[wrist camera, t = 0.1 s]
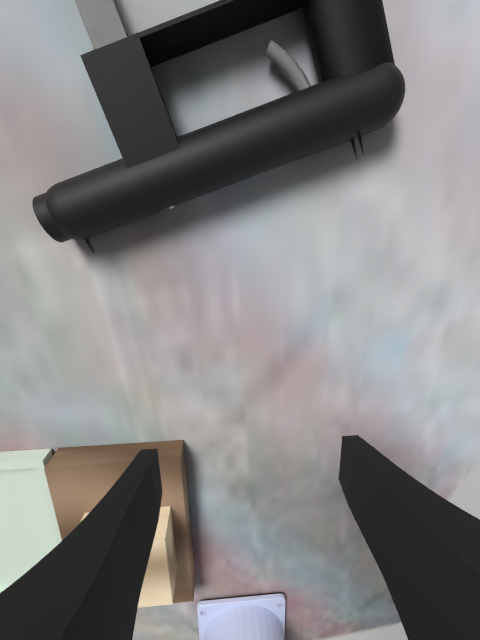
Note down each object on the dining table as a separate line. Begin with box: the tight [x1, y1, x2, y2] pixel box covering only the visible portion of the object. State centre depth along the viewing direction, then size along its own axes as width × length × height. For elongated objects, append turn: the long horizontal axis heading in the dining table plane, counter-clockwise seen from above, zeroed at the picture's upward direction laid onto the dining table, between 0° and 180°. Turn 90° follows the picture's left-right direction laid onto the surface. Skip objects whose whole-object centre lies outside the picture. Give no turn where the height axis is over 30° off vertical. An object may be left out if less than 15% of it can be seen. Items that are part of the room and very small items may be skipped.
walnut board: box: [44, 440, 195, 603], centre depth 24 cm, size 14×9×2 cm, turn 1°
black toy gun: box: [33, 0, 405, 253], centre depth 15 cm, size 3×20×16 cm
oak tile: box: [81, 506, 177, 608], centre depth 22 cm, size 6×6×2 cm
